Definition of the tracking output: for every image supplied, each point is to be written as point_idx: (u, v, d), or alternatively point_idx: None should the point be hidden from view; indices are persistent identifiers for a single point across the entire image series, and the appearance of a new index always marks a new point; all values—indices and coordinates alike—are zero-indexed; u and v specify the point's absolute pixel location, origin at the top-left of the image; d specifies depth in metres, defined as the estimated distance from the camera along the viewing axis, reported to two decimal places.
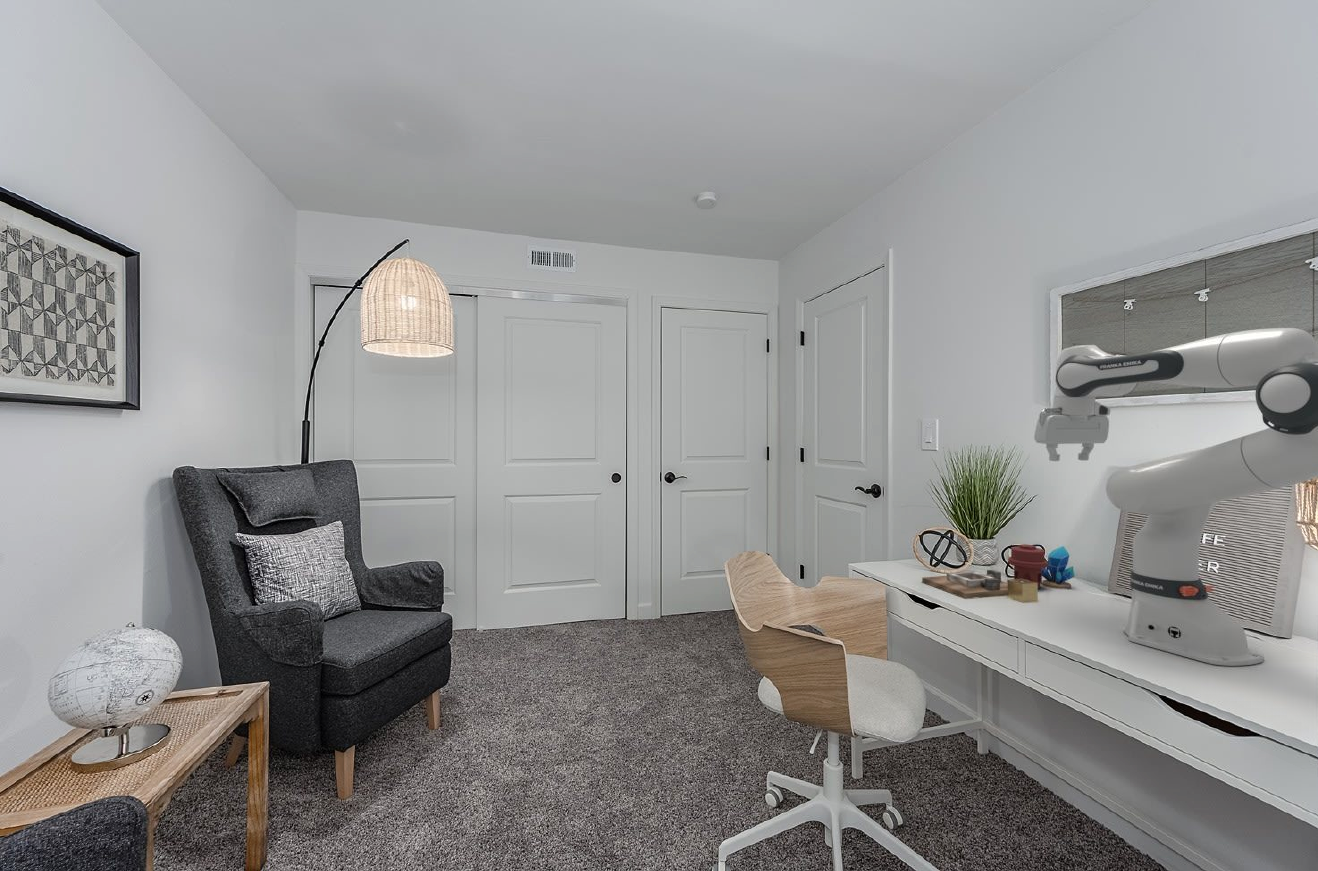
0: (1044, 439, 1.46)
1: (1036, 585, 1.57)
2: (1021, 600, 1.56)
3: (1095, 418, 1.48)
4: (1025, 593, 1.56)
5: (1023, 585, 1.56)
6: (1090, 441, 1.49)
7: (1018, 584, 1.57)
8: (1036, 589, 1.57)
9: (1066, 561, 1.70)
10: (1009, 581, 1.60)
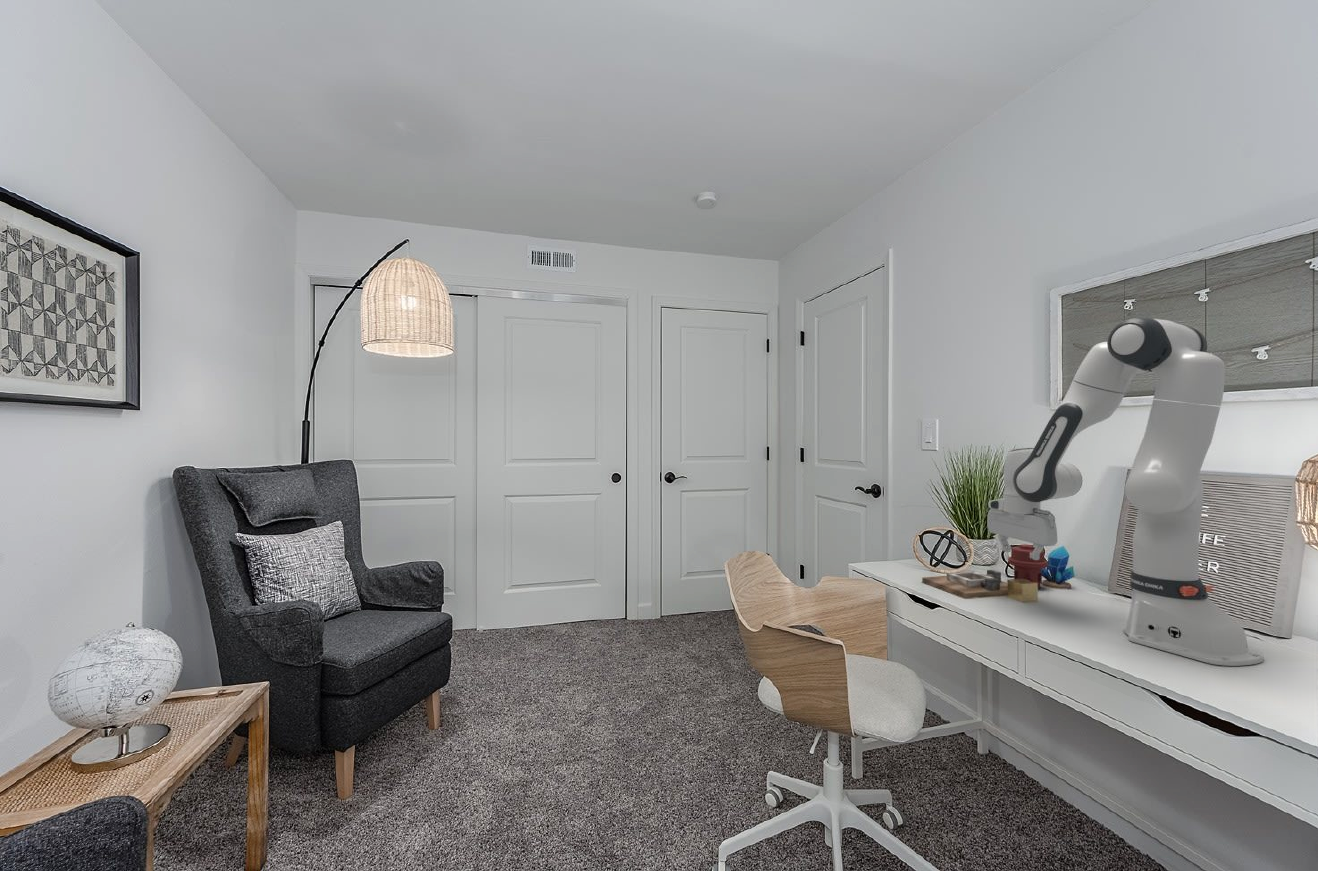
0: None
1: (1036, 585, 1.57)
2: (1021, 600, 1.56)
3: None
4: (1025, 593, 1.56)
5: (1023, 585, 1.56)
6: None
7: (1018, 584, 1.57)
8: (1036, 589, 1.57)
9: (1066, 561, 1.70)
10: (1009, 581, 1.60)
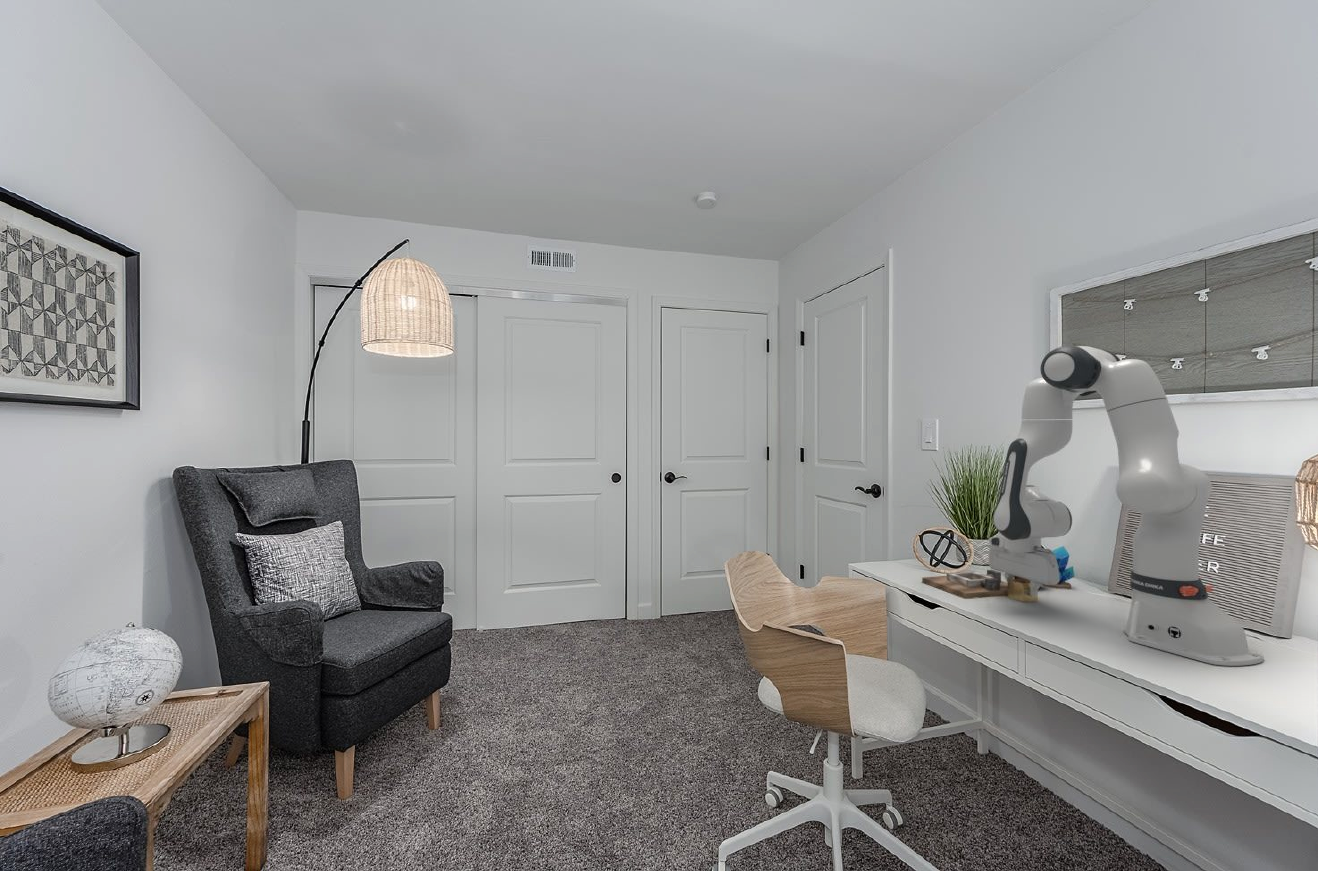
0: None
1: None
2: (1021, 600, 1.56)
3: None
4: (1025, 592, 1.56)
5: (1023, 585, 1.56)
6: None
7: (1018, 584, 1.57)
8: None
9: (1066, 561, 1.70)
10: (1009, 581, 1.60)
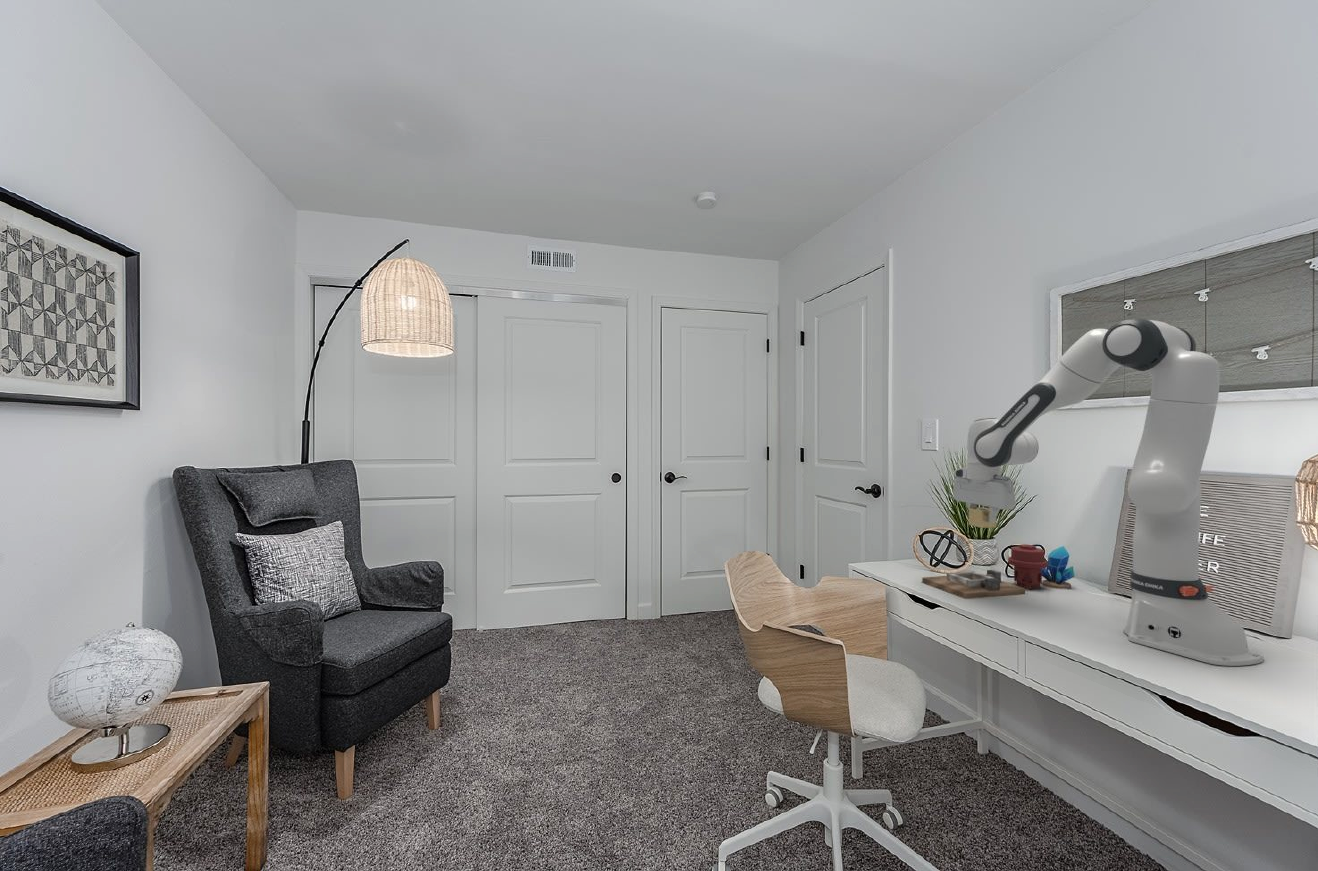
0: None
1: None
2: (980, 526, 1.65)
3: None
4: (985, 519, 1.65)
5: (982, 511, 1.65)
6: None
7: (978, 511, 1.66)
8: None
9: (1066, 561, 1.70)
10: (970, 509, 1.69)
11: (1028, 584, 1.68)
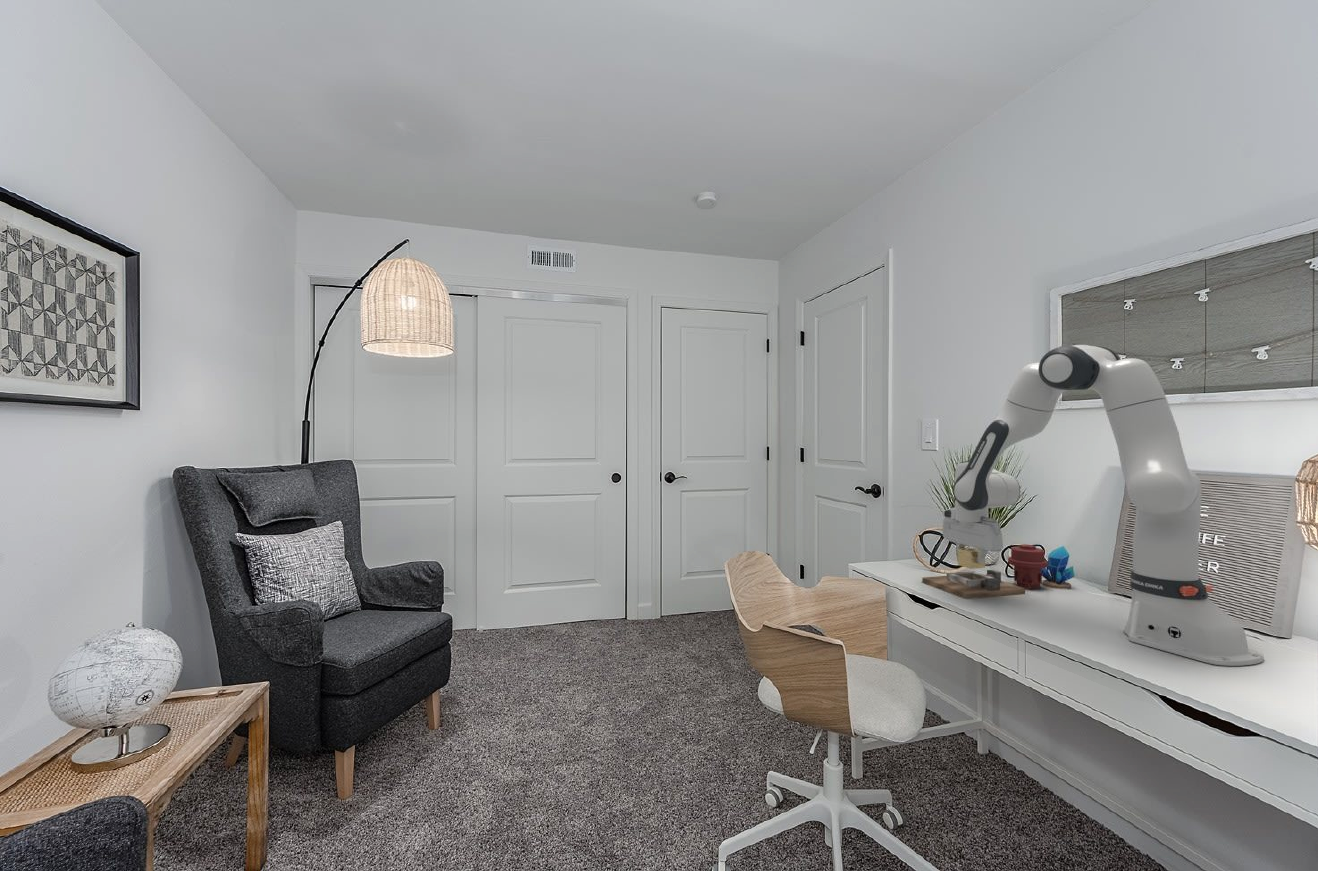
0: (1002, 547, 1.61)
1: None
2: (969, 566, 1.68)
3: None
4: (973, 560, 1.68)
5: (971, 552, 1.68)
6: None
7: (967, 552, 1.69)
8: None
9: (1066, 561, 1.70)
10: (959, 549, 1.72)
11: (1028, 584, 1.68)
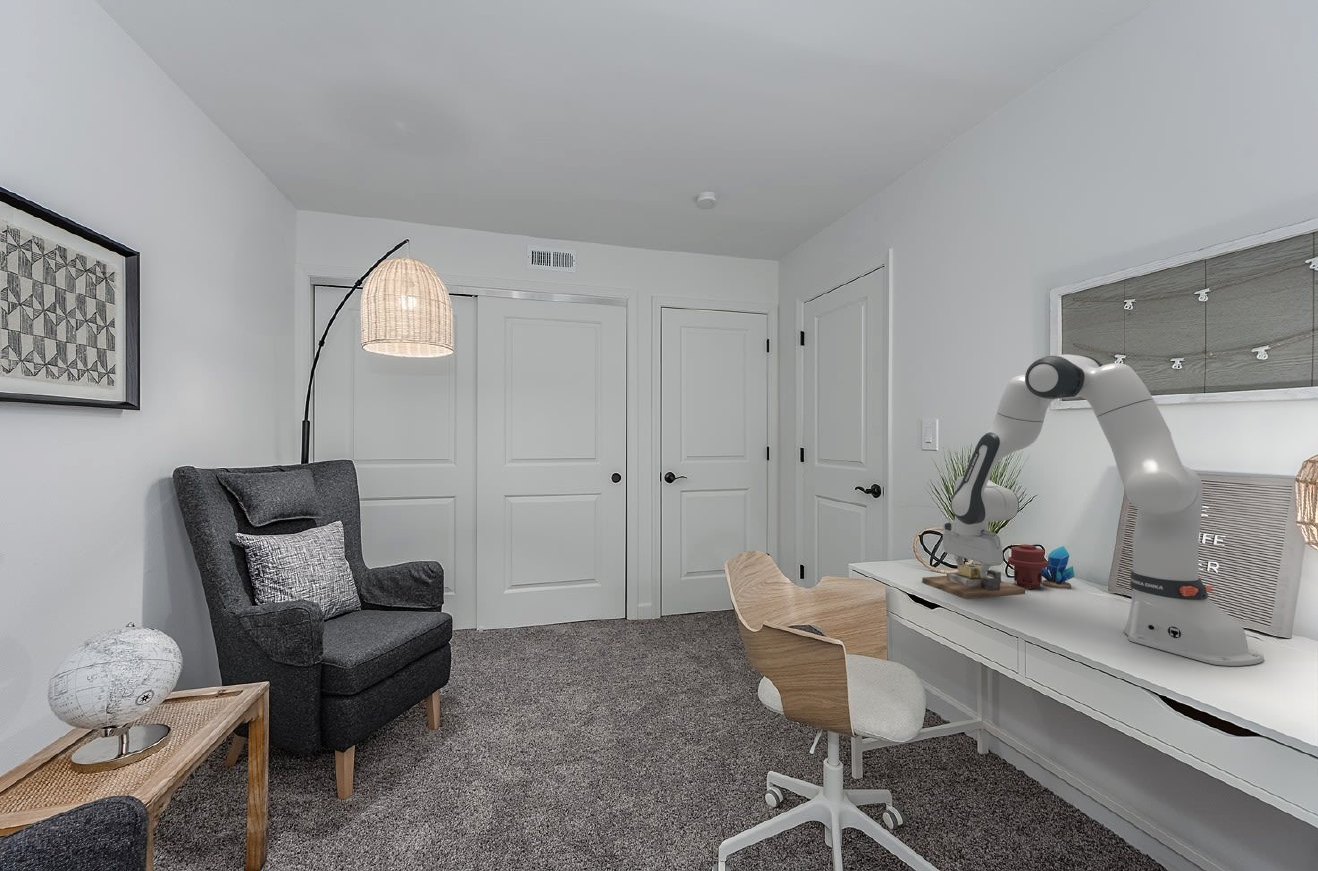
0: None
1: None
2: None
3: None
4: (974, 577, 1.68)
5: (971, 569, 1.68)
6: None
7: (967, 568, 1.69)
8: None
9: (1066, 561, 1.70)
10: (960, 566, 1.72)
11: (1028, 584, 1.68)
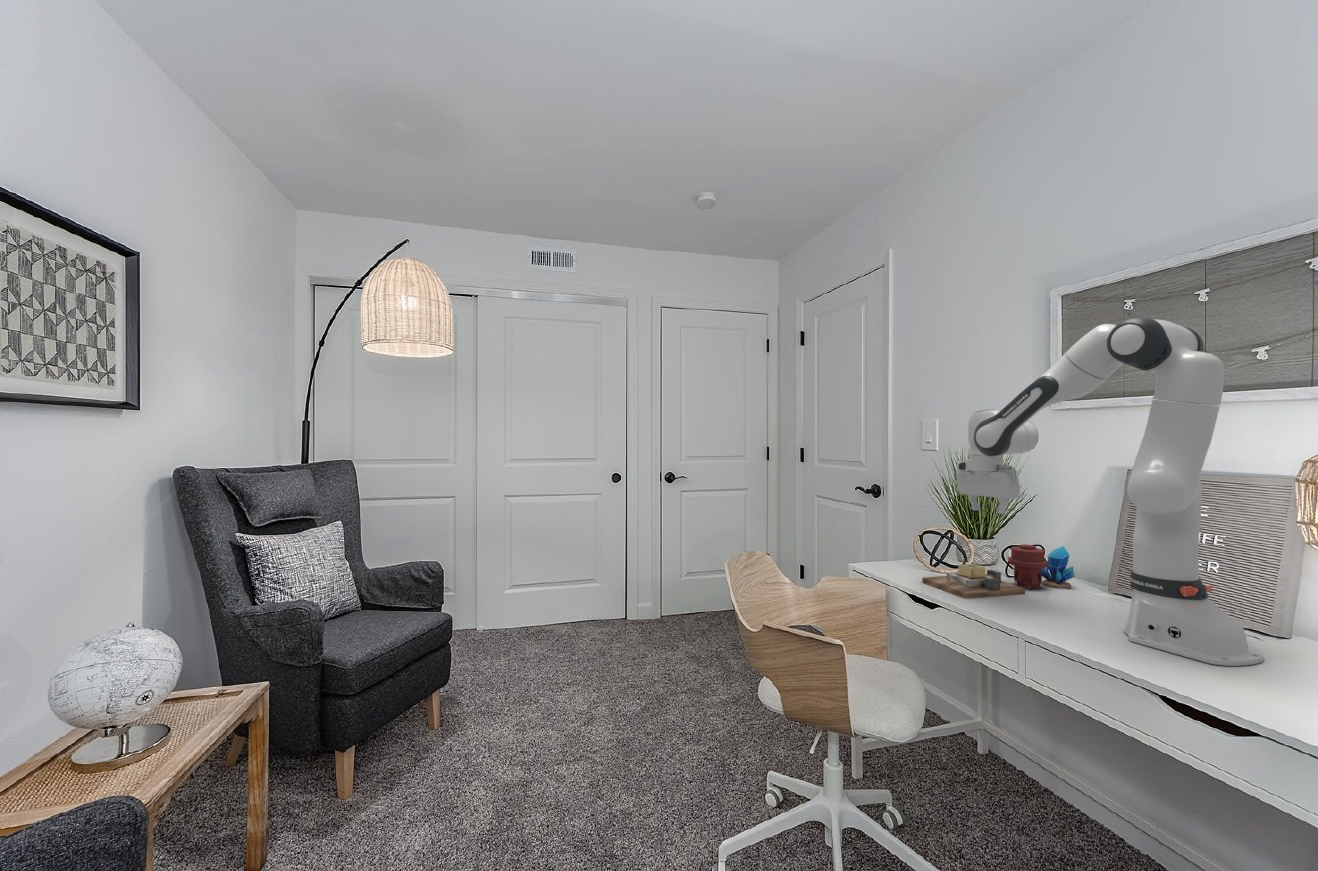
0: None
1: (984, 569, 1.68)
2: None
3: None
4: (974, 577, 1.68)
5: (971, 569, 1.68)
6: None
7: (967, 568, 1.69)
8: (984, 573, 1.69)
9: (1066, 561, 1.70)
10: (960, 566, 1.72)
11: (1028, 584, 1.68)
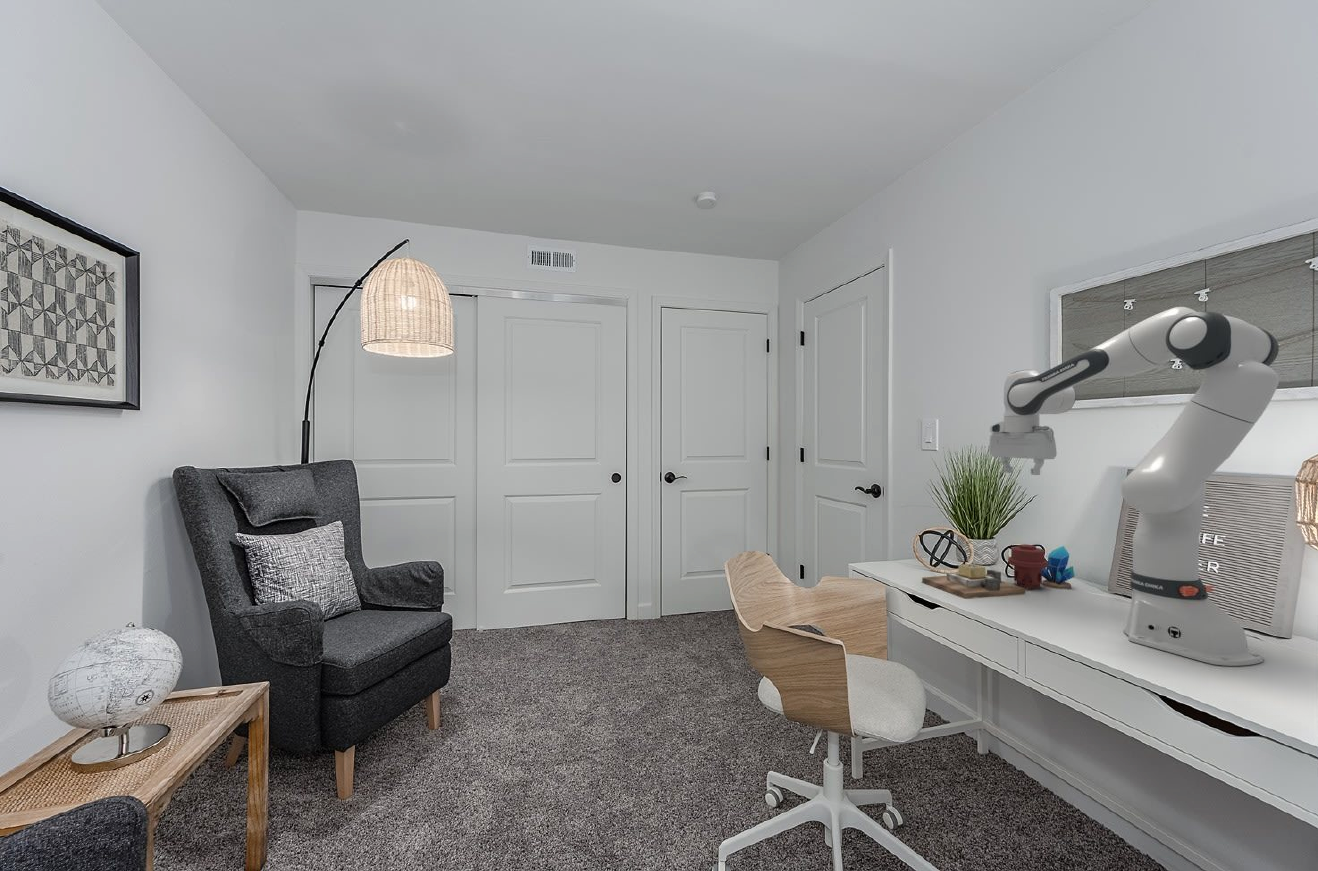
0: None
1: (984, 569, 1.68)
2: None
3: None
4: (974, 577, 1.68)
5: (971, 569, 1.68)
6: None
7: (967, 568, 1.69)
8: (984, 573, 1.69)
9: (1066, 561, 1.70)
10: (960, 566, 1.72)
11: (1028, 584, 1.68)
